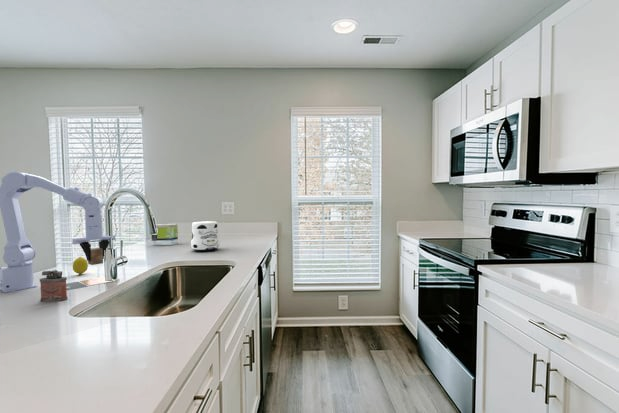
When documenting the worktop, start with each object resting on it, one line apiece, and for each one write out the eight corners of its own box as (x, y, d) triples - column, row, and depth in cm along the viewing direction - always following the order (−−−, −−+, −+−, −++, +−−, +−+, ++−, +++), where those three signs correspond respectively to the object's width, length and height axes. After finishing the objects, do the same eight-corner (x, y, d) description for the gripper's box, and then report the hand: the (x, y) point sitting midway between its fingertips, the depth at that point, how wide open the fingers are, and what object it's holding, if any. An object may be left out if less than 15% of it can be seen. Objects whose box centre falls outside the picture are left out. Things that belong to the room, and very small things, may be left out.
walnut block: (91, 265, 128) (91, 249, 127) (88, 263, 130) (87, 249, 130) (103, 263, 131) (102, 248, 131) (99, 262, 133) (98, 247, 133)
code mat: (49, 294, 114) (49, 293, 114) (40, 288, 122) (40, 288, 122) (88, 286, 124) (88, 286, 124) (78, 281, 131) (78, 281, 131)
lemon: (85, 272, 147) (85, 255, 147) (89, 274, 144) (89, 256, 144) (71, 275, 143) (70, 257, 143) (75, 276, 140) (74, 258, 139)
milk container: (211, 253, 196) (210, 223, 195) (185, 252, 199) (184, 223, 199) (224, 248, 213) (223, 221, 212) (200, 248, 216) (199, 221, 216)
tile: (89, 286, 124) (89, 285, 124) (79, 281, 131) (79, 281, 131) (115, 281, 131) (115, 280, 131) (104, 277, 138) (104, 276, 138)
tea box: (178, 243, 240) (177, 223, 239) (171, 245, 230) (170, 224, 229) (159, 243, 241) (158, 223, 241) (151, 245, 231) (150, 225, 231)
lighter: (70, 298, 109) (69, 269, 109) (62, 301, 106) (61, 271, 105) (45, 299, 109) (44, 269, 108) (37, 302, 105) (36, 272, 105)
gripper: (76, 228, 122) (77, 264, 122) (117, 225, 133) (118, 257, 134) (70, 227, 126) (71, 261, 127) (110, 224, 138) (112, 256, 138)
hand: (95, 259), depth 130 cm, fingers closed on walnut block, 4 cm apart
